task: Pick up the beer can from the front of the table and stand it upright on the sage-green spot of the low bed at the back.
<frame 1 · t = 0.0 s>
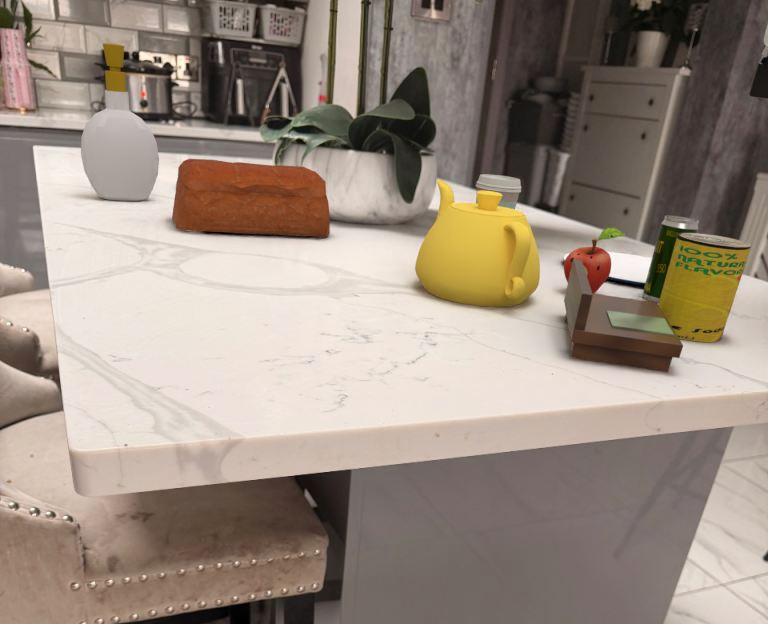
bread: (251, 229, 136), on the table
teapot: (469, 292, 111), on the table
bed: (611, 342, 95), on the table
apple: (583, 296, 117), on the table
soap bottle: (123, 199, 149), on the table
plate: (631, 274, 136), on the table
beer can: (658, 301, 119), on the table
coffee cup: (489, 246, 146), on the table
beverage can: (686, 333, 103), on the table
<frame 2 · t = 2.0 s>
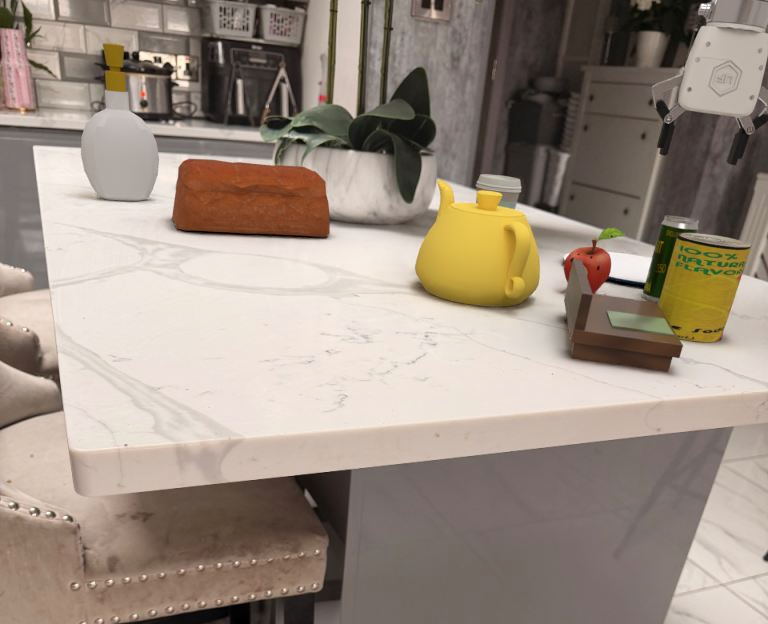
hand: (696, 159, 109), 20 cm above the table, tool pointing down, fingers open, 9 cm apart
nothing on the table moved.
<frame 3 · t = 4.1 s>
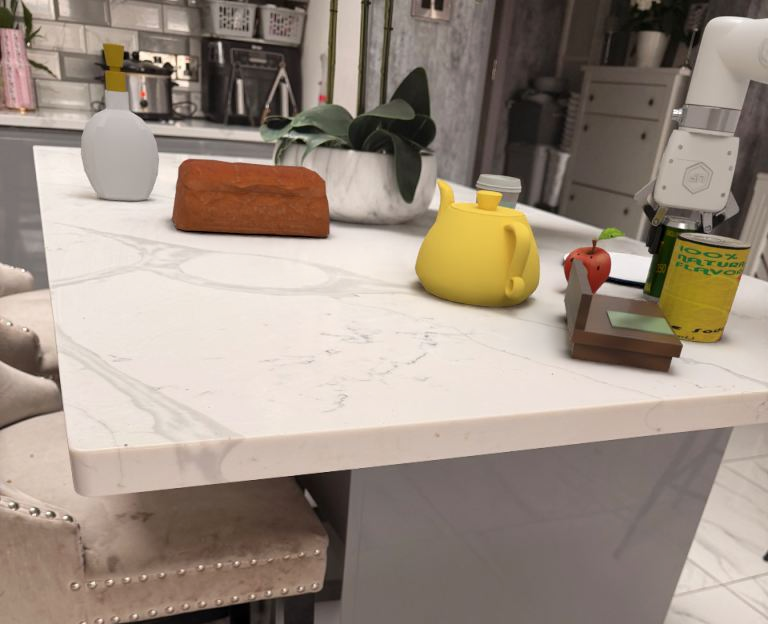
hand: (671, 254, 115), 7 cm above the table, tool pointing down, fingers closed on beer can, 5 cm apart
beer can: (658, 301, 119), on the table, touching gripper
everything else where it was.
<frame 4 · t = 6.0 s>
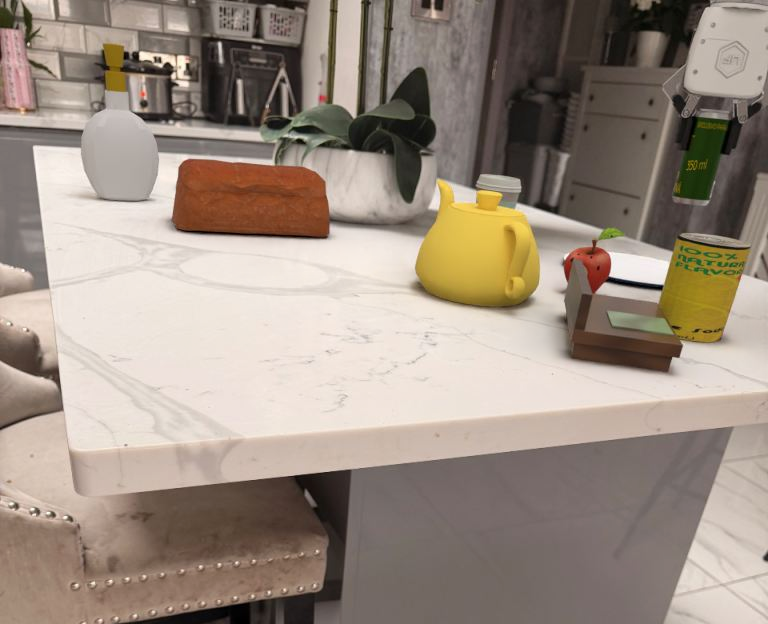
hand: (703, 150, 107), 21 cm above the table, tool pointing down, fingers closed on beer can, 5 cm apart
beer can: (689, 204, 111), point 14 cm above the table, touching gripper
everything else where it was.
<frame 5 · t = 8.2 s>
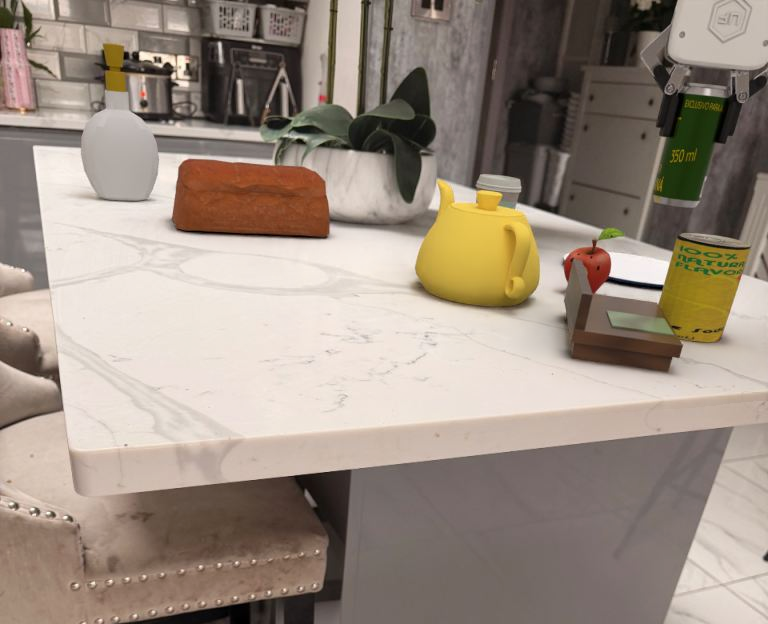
hand: (691, 137, 84), 23 cm above the table, tool pointing down, fingers closed on beer can, 5 cm apart
beer can: (673, 205, 88), point 16 cm above the table, touching gripper
everything else where it was.
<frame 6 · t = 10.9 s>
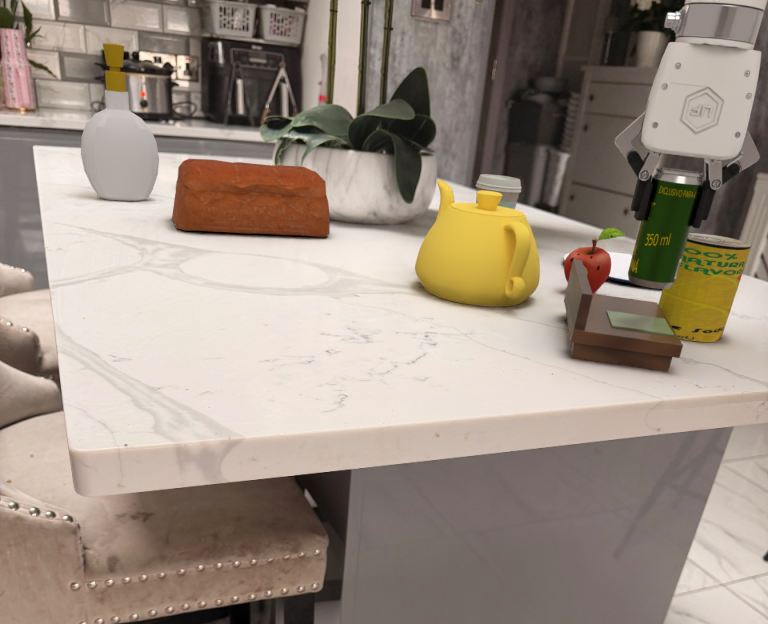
hand: (666, 220, 85), 15 cm above the table, tool pointing down, fingers closed on beer can, 5 cm apart
beer can: (649, 285, 88), point 8 cm above the table, touching gripper
everything else where it was.
when the fingers open (11 cm above the table, at t = 12.6 s): beer can stays where it is, resting on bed.
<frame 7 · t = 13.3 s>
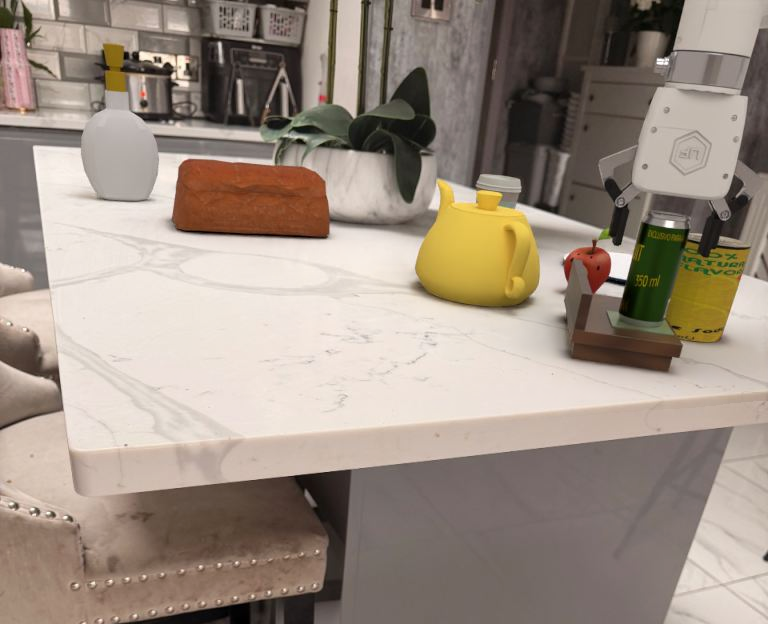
hand: (659, 249, 86), 12 cm above the table, tool pointing down, fingers open, 9 cm apart
beer can: (639, 323, 90), point 4 cm above the table, touching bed
everything else where it was.
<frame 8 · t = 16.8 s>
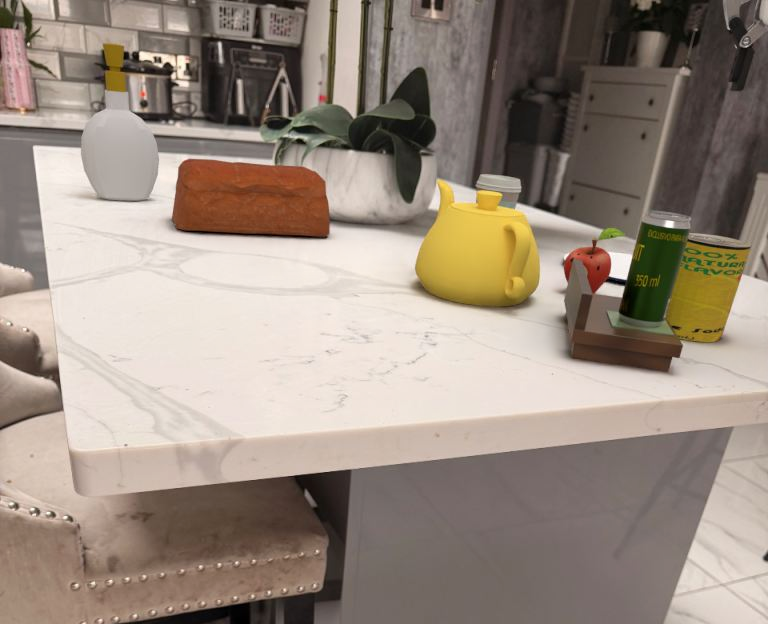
nothing on the table moved.
at the end: beer can 0.1 cm from the target spot on the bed, point 3.5 cm above the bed's base; beer can tilted 0°; the gripper is holding nothing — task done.
